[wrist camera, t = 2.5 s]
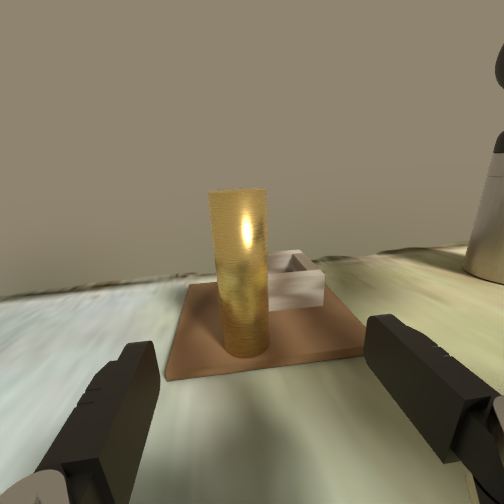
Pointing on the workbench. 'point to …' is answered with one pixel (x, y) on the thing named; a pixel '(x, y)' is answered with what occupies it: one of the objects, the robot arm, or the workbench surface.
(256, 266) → the golden metal peg
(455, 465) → the workbench surface
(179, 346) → the socket block
